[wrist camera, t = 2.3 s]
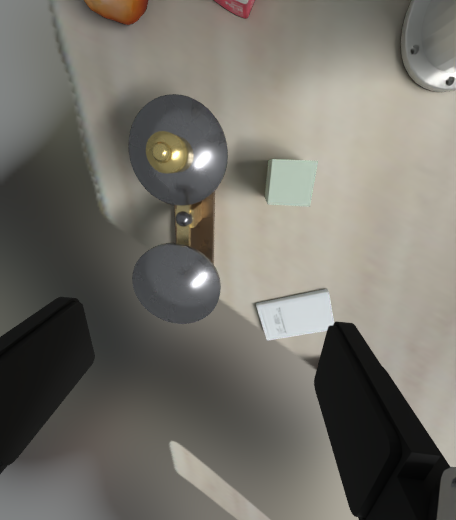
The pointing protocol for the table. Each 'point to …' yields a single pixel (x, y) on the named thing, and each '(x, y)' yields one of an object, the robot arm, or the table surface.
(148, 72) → the table surface
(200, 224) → the balance
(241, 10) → the ink box
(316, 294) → the external hard drive
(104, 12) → the fruit
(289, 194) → the sage block
